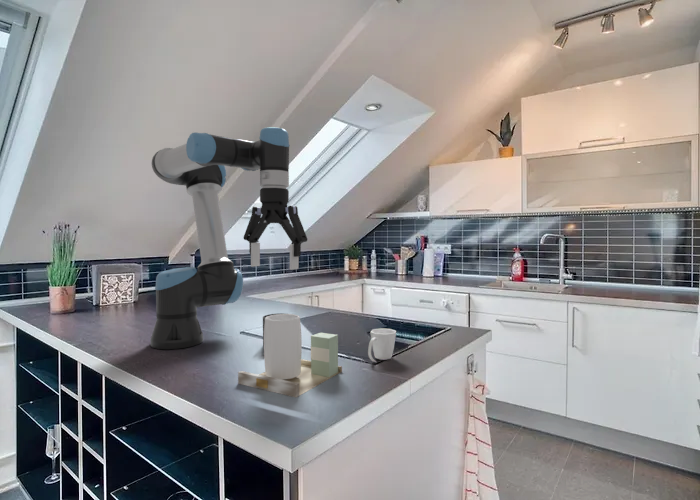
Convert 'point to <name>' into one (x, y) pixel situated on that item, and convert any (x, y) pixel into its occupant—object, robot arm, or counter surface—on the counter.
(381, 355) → the cup
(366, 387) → the counter surface
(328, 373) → the tea carton
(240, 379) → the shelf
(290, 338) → the cup
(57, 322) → the counter surface
